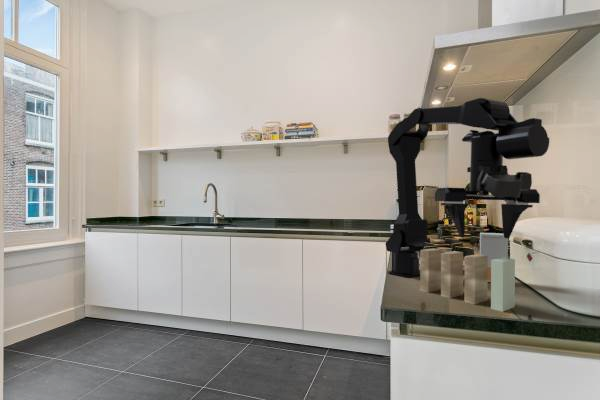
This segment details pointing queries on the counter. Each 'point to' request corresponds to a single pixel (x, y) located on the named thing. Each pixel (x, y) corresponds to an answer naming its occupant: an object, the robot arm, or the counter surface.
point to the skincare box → (493, 248)
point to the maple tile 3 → (476, 278)
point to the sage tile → (502, 284)
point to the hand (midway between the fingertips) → (484, 237)
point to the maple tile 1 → (430, 270)
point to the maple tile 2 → (451, 274)
